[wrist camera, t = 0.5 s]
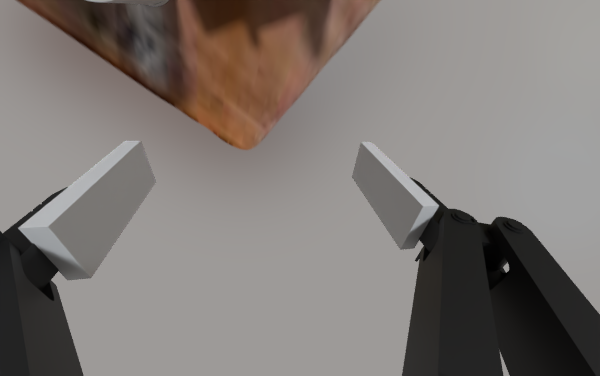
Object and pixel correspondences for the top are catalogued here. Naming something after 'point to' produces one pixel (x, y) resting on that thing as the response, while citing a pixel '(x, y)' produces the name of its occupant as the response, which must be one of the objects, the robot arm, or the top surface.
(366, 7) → the top surface
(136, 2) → the cup
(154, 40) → the top surface
